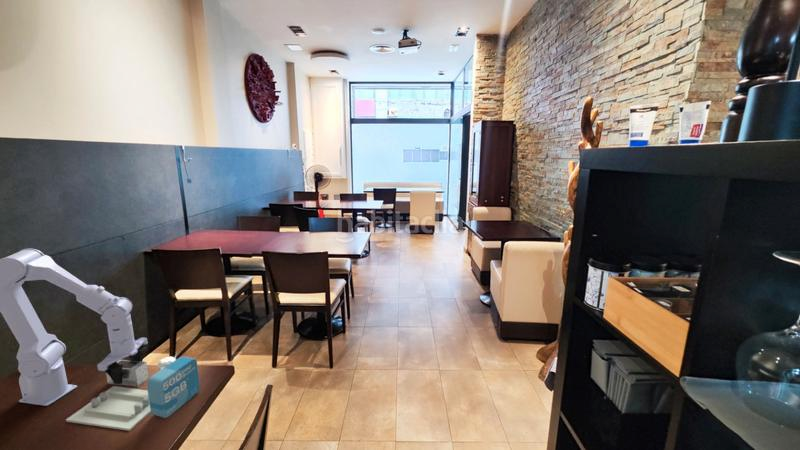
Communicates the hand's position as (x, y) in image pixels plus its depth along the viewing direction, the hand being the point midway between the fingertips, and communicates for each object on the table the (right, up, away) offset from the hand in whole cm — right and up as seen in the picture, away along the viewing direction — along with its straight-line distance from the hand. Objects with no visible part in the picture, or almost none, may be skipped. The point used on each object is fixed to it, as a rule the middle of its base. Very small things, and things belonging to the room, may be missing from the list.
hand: (127, 376), depth 102 cm
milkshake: (+14, -2, 0) cm, 14 cm away
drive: (0, -2, 0) cm, 2 cm away
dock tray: (+7, -4, -10) cm, 13 cm away
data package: (+21, -5, -8) cm, 23 cm away
